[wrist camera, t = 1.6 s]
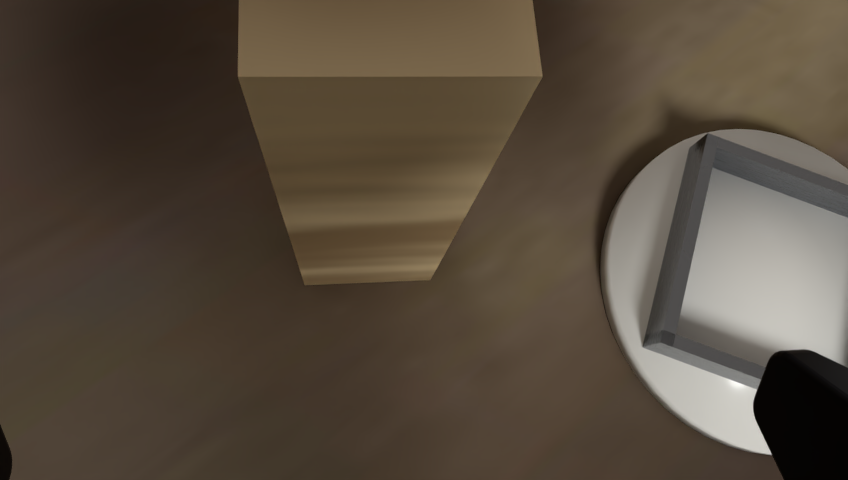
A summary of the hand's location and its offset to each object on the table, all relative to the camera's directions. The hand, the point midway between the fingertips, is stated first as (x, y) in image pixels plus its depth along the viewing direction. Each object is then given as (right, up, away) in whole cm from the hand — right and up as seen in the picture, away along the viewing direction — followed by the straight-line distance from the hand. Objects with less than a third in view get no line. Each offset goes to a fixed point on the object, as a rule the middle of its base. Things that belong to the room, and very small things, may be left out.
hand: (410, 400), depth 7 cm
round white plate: (+12, 0, +14) cm, 18 cm away
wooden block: (-2, +2, +13) cm, 14 cm away
